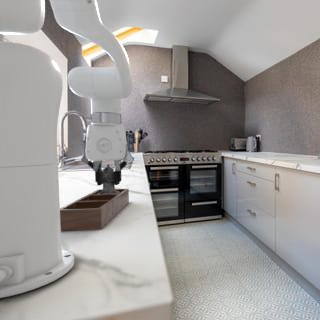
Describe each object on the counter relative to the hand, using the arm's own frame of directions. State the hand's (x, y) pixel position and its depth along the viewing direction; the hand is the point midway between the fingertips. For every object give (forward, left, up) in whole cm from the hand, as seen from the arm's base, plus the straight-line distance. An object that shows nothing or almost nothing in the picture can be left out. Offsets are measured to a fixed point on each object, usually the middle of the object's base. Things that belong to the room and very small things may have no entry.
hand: (108, 183), depth 75 cm
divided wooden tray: (-8, 0, -7) cm, 10 cm away
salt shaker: (0, 0, -6) cm, 6 cm away
